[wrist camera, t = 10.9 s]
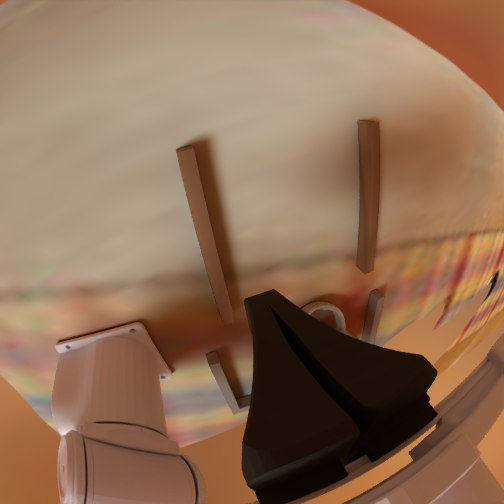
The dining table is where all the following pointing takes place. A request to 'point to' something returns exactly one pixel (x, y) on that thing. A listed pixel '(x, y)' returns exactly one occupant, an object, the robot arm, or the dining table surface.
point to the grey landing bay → (244, 403)
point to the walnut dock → (367, 212)
